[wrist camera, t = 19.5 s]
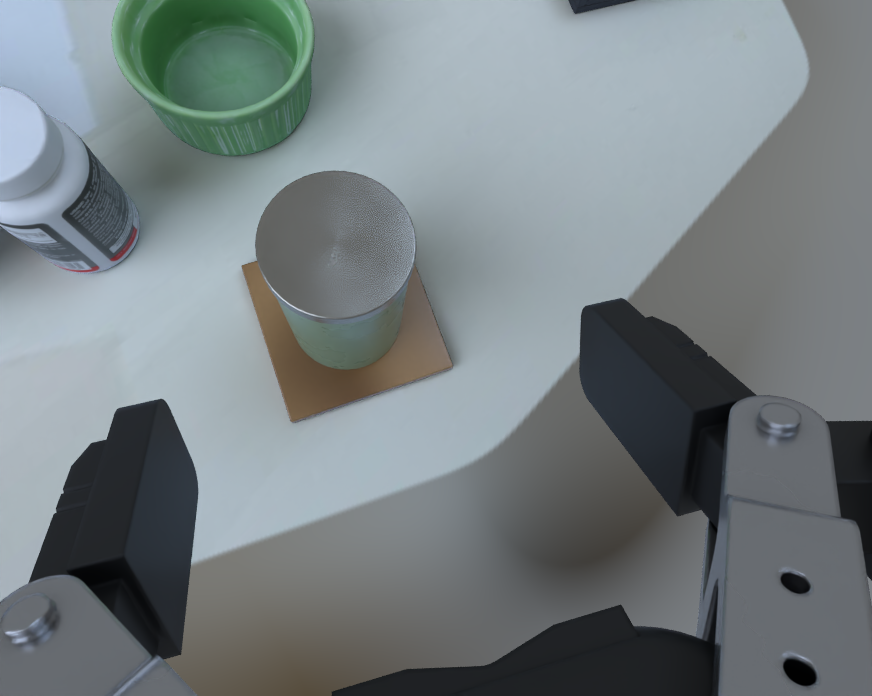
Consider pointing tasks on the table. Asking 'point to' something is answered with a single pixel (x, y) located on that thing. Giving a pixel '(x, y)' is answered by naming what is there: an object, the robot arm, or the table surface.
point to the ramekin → (219, 67)
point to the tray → (592, 4)
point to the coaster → (332, 388)
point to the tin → (338, 265)
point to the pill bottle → (59, 191)
